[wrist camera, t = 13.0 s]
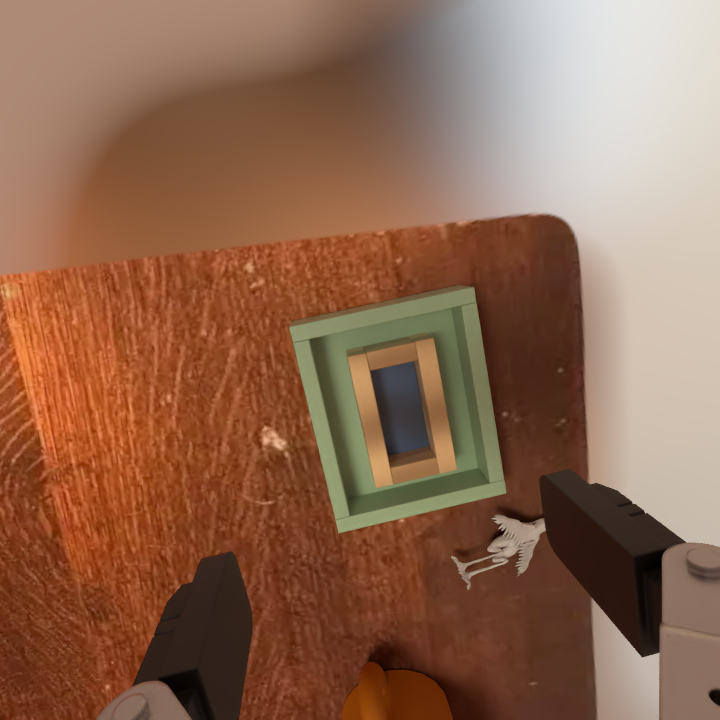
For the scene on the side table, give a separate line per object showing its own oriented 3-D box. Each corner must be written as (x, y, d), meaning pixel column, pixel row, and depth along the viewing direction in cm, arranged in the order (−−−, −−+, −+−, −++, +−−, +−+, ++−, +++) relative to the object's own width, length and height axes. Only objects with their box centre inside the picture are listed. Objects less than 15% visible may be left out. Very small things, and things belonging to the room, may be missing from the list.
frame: (344, 350, 32) (347, 356, 30) (425, 332, 32) (434, 337, 30) (371, 473, 34) (375, 489, 31) (447, 455, 34) (457, 469, 32)
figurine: (467, 593, 37) (553, 542, 37) (479, 613, 35) (570, 559, 35) (439, 536, 35) (531, 484, 35) (451, 554, 33) (547, 499, 33)
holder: (291, 321, 32) (288, 326, 29) (459, 284, 32) (474, 286, 29) (336, 510, 35) (338, 533, 32) (490, 473, 35) (506, 493, 32)
